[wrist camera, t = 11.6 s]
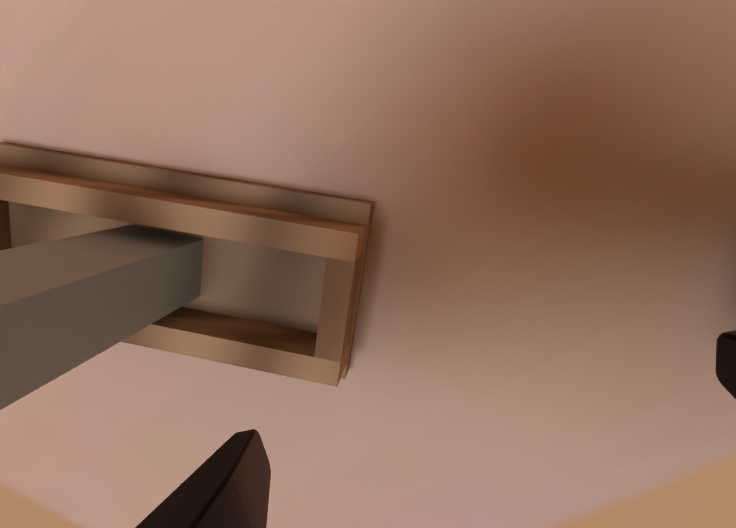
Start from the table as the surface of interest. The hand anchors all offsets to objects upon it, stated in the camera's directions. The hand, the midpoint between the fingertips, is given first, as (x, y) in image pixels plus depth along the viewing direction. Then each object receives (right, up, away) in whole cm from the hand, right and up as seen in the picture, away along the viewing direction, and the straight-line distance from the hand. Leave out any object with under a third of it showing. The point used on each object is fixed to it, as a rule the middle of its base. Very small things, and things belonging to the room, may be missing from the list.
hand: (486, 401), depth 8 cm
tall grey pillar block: (-13, +3, +13) cm, 18 cm away
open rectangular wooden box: (-13, +3, +14) cm, 19 cm away
